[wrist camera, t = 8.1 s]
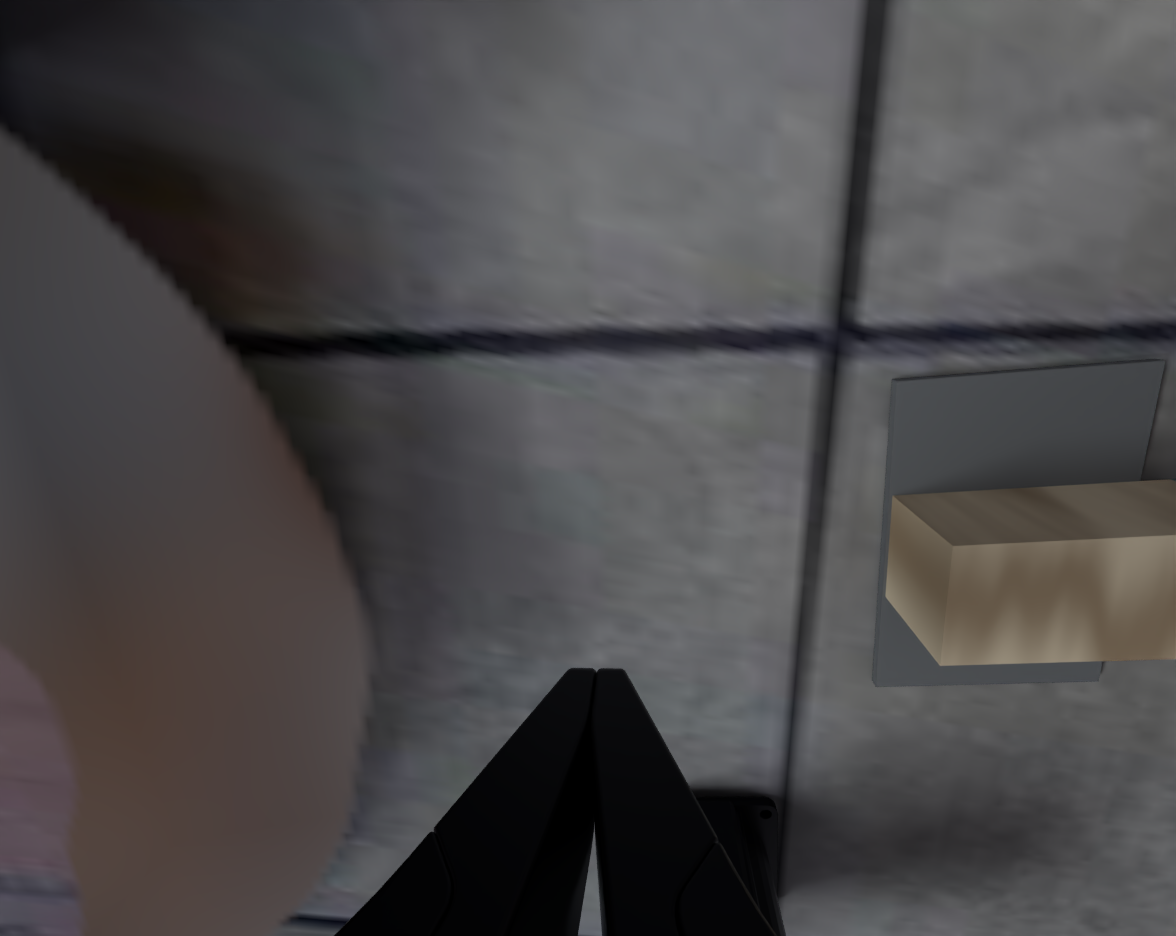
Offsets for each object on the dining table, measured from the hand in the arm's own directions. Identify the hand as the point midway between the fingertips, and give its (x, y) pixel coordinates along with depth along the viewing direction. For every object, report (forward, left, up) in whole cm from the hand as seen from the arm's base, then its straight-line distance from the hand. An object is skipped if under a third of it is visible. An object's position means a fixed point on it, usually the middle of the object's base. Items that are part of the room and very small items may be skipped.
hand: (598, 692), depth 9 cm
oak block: (-4, -18, -10) cm, 21 cm away
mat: (-4, -13, -13) cm, 19 cm away
